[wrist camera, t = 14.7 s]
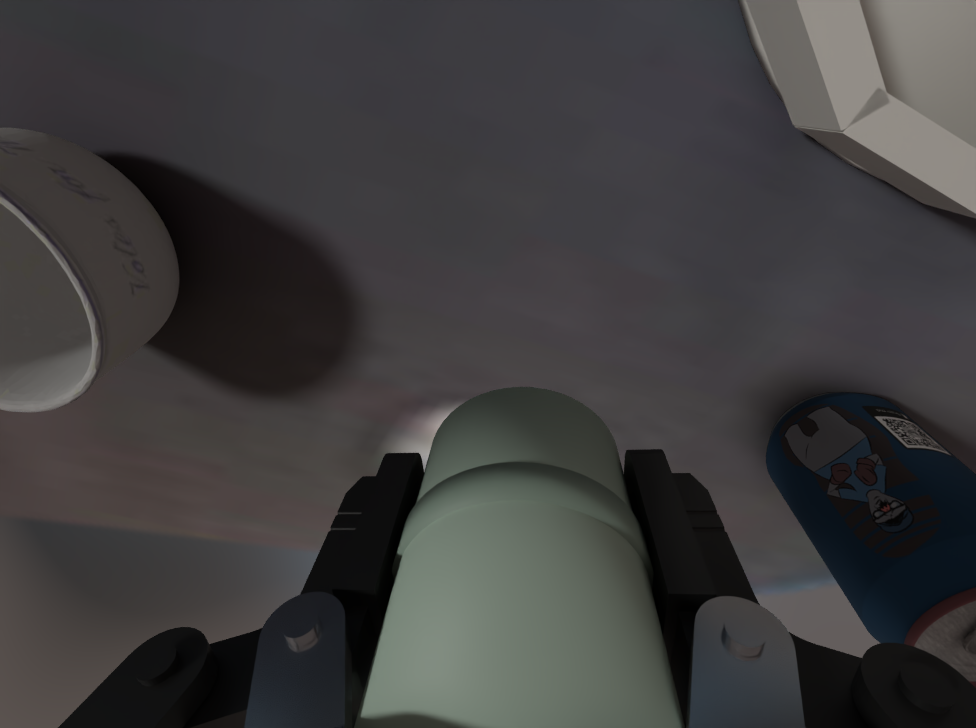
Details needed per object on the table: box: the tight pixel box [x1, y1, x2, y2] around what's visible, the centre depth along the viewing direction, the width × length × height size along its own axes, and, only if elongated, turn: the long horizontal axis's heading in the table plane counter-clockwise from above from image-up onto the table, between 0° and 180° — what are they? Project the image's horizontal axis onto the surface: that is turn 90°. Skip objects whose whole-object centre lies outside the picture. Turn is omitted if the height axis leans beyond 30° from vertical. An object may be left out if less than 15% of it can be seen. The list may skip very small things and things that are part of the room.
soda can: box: [766, 392, 976, 688], centre depth 22 cm, size 7×7×12 cm
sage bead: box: [354, 387, 685, 728], centre depth 9 cm, size 5×5×6 cm
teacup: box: [0, 128, 179, 412], centre depth 21 cm, size 14×11×8 cm
